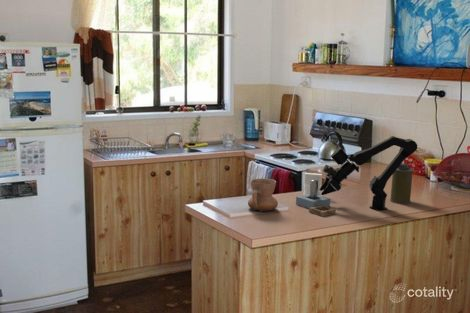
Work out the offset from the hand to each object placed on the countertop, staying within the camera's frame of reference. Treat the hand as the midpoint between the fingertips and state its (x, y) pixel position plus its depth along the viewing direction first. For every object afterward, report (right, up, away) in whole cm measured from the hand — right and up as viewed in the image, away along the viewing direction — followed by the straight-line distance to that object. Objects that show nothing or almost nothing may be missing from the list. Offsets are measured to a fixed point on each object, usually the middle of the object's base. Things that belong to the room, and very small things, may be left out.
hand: (320, 192), depth 299 cm
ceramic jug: (-30, -8, -9) cm, 32 cm away
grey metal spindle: (-4, -7, +1) cm, 8 cm away
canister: (+44, -6, +15) cm, 47 cm away
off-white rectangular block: (-2, -3, +21) cm, 21 cm away
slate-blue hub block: (-4, -7, +1) cm, 8 cm away
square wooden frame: (-1, -9, -11) cm, 15 cm away
